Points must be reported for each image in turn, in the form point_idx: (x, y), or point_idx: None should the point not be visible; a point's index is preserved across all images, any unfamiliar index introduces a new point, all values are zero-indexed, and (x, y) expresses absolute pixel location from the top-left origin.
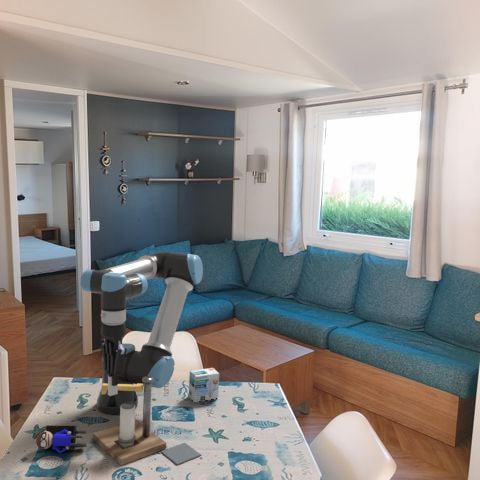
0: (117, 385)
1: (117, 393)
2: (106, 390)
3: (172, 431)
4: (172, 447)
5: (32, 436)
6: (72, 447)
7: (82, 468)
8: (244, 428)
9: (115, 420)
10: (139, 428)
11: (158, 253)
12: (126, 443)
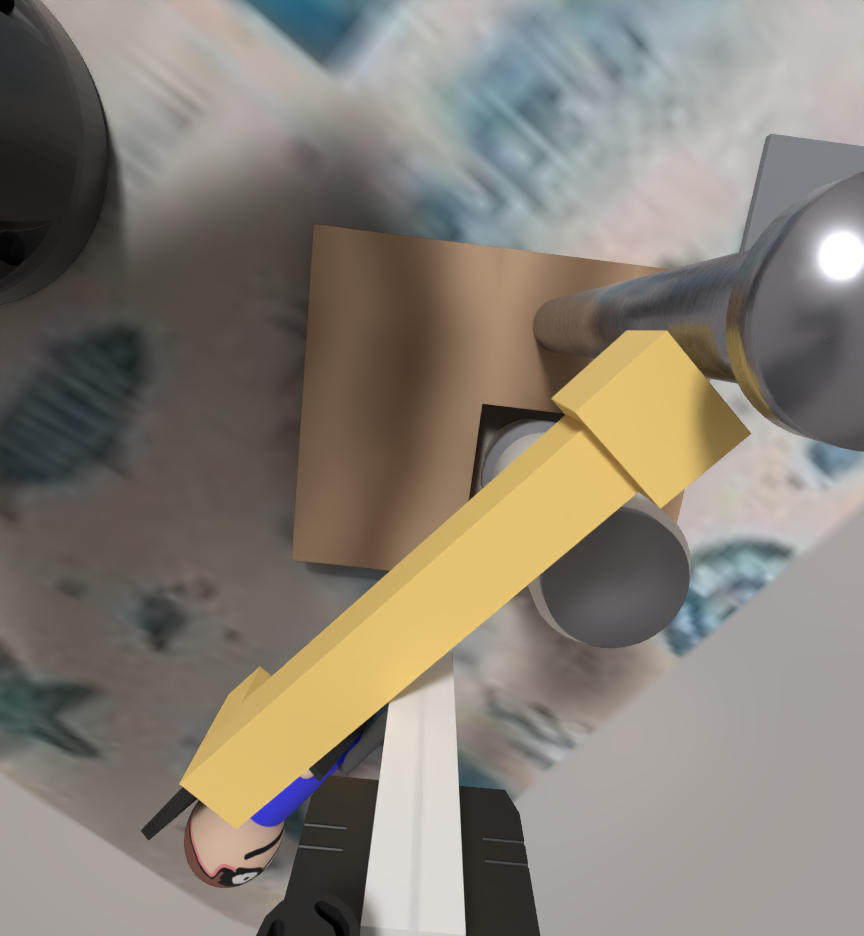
0: (454, 736)
1: (451, 656)
2: (254, 683)
3: (578, 78)
4: (749, 248)
5: (67, 755)
6: (368, 722)
7: (523, 723)
8: None
9: (166, 302)
10: (442, 292)
11: None
12: None
